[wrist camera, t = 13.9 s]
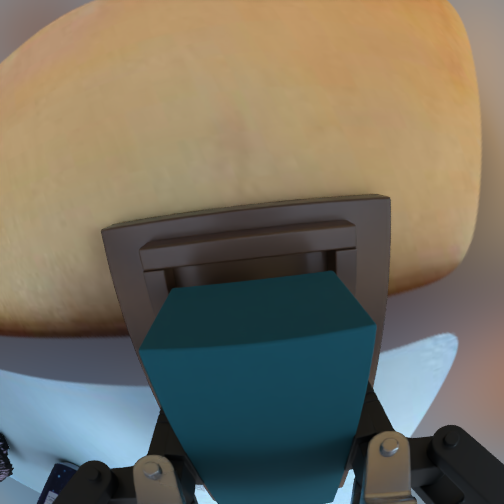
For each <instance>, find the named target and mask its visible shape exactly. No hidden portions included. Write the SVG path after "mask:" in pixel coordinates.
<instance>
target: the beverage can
mask: <svg viewBox="0 0 504 504" xmlns="http://www.w3.org/2000/svg"><path fill="white" fill-rule="evenodd" d="M79 468H80V467H78V466H76V465H74V464H71V463H68V462H63V463H57V464H55V465H54V467H53V469H52V471H51V473H50V475H49V477H48V480H47V482H46V484H45V486H44V488H43V491H42V493H41V496H40V497H39V500H38V502H37V504H52V502H53V501H54V500H55V499H56V497H57V496H58V495H59V493H60V492H61V491H62V490H63V488H64V487H65V486H66V484H67V483H68V482H69V480H70V479H71V478H72V477H73V475H74V474H75V473H76V471H77V470H78V469H79Z"/></svg>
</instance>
